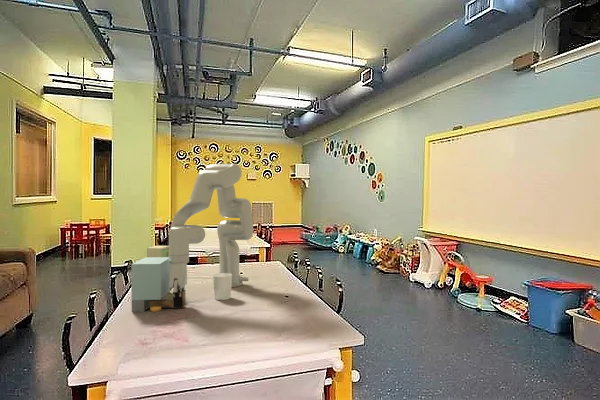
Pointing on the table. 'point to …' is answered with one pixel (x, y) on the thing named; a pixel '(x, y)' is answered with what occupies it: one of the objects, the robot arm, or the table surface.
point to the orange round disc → (155, 308)
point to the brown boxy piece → (169, 301)
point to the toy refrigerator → (158, 251)
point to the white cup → (222, 286)
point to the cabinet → (149, 281)
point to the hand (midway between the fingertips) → (179, 305)
